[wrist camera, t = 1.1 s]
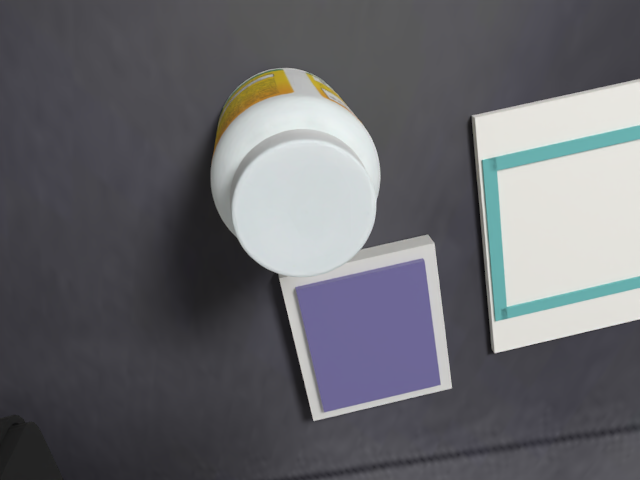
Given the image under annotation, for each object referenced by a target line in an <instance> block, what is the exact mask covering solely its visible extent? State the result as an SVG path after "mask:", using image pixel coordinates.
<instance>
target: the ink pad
mask: <svg viewBox="0 0 640 480" xmlns="http://www.w3.org/2000/svg"><path fill="white" fill-rule="evenodd" d="M279 280H280V284H281V288H282V292H283V297H284V301H285V305H286V309H287V313H288V317H289V321H290V325H291V330H292V334H293V338H294V342H295V346H296V350H297V354H298V359H299V363H300V367H301V371H302V375H303V379H304V383H305V388H306V392H307V396H308V400H309V404H310V408H311V412H312V417H313V421H316V420H320V419H324V418H328V417H333V416H337V415H341V414H345V413H349V412H354V411H358V410H362V409H366V408H371V407H375V406H379V405H383V404H387V403H392V402H396V401H400V400H404V399H408V398H413V397H417V396H421V395H425V394H430V393H434V392H438V391H442V390H446V389H451V388H452V384H451V376H450V368H449V360H448V351H447V343H446V335H445V327H444V318H443V310H442V302H441V294H440V286H439V277H438V269H437V261H436V253H435V244H434V242H433V241H432V239H431V238H430V237H429V235H424V236H419V237H415V238H410V239H406V240H402V241H397V242H393V243H388V244H384V245H379V246H375V247H371V248H366V249H362V250H359V252H358V253H357V254H356V255H355V256H354V257H353V258H352V259H350V260H349V261H348V262H347V263H345V264H344V265H342V266H340V267H338V268H336V269H334V270H332V271H330V272H328V273H325V274H322V275H318V276H312V277H291V276H285V275H281V274H279Z"/></svg>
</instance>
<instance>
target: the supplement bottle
mask: <svg viewBox="0 0 640 480" xmlns="http://www.w3.org/2000/svg"><path fill="white" fill-rule="evenodd" d="M379 187H380V164H379V159H378V154H377V151H376V148H375V145H374V143H373V141H372V139H371V137H370V135H369V133H368V131H367V130H366V129H365V127H364V126H363V124H362V123H361V122H360V121H359V119H358V118H357V117H356V116H355V115H354V113H353V112H352V111H351V110H350V109H349V108H348V106H347V105H346V104H345V103H344V101H343V100H342V99H341V98H340V96H339V95H338V94H337V93H336V92H335V91H334V90H333V89H332V88H331V87H330V86H329V85H328V84H327V83H325V82H324V81H323V80H321V79H320V78H318V77H317V76H315V75H313V74H311V73H308V72H306V71H303V70H298V69H293V68H277V69H270V70H266V71H263V72H261V73H258V74H256V75H254V76H252V77H251V78H249V79H248V80H246V81H245V82H243V83H242V84H241V85H240V86H238V87H237V88H236V90H235V91H234V92H233V93H232V94H231V95H230V97H229V98H228V100H227V101H226V103H225V105H224V107H223V109H222V112H221V115H220V118H219V122H218V127H217V134H216V140H215V146H214V152H213V157H212V163H211V190H212V195H213V199H214V203H215V206H216V208H217V210H218V213H219V215H220V217H221V218H222V220H223V222H224V223H225V225H226V226H227V227H228V229H229V230H230V231H231V232H232V233H233V234H234V235H235V236H236V237H237V238H238V240H239V242H240V244H241V246H242V247H243V249H244V250H245V251H246V252H247V254H248V255H249V256H250V257H251V258H252V259H254V260H255V261H256V262H257V263H258V264H260V265H261V266H263V267H265V268H266V269H268V270H270V271H273V272H275V273H278V274H281V275H285V276H291V277H312V276H318V275H322V274H325V273H328V272H330V271H332V270H334V269H336V268H338V267H340V266H342V265H344V264H345V263H347V262H348V261H349V260H350V259H352V258H353V257H354V256H355V255H356V254H357V253H358V252H359V250H360V249H361V248H362V247H363V245H364V244H365V242H366V240H367V239H368V237H369V235H370V233H371V230H372V228H373V225H374V221H375V215H376V200H377V197H378V193H379Z"/></svg>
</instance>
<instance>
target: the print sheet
mask: <svg viewBox="0 0 640 480" xmlns="http://www.w3.org/2000/svg"><path fill="white" fill-rule="evenodd" d="M472 128H473V139H474V151H475V162H476V174H477V185H478V197H479V209H480V220H481V232H482V243H483V255H484V267H485V278H486V290H487V301H488V313H489V324H490V336H491V348H492V350H493V352H494V353H498V352H502V351H507V350H511V349H515V348H519V347H524V346H528V345H532V344H536V343H541V342H545V341H549V340H553V339H558V338H562V337H566V336H570V335H575V334H579V333H583V332H587V331H592V330H596V329H600V328H604V327H609V326H613V325H617V324H621V323H626V322H630V321H634V320H638V319H640V79H638V80H633V81H628V82H624V83H619V84H615V85H610V86H605V87H601V88H596V89H592V90H587V91H583V92H578V93H573V94H569V95H564V96H560V97H555V98H550V99H546V100H541V101H537V102H532V103H527V104H523V105H518V106H514V107H509V108H505V109H500V110H495V111H491V112H486V113H482V114H477V115H472Z"/></svg>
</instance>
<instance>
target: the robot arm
mask: <svg viewBox="0 0 640 480" xmlns="http://www.w3.org/2000/svg"><path fill="white" fill-rule="evenodd" d="M0 480H63V478H62V476H61V473H60V471H59V469H58V467H57V465H56V463H55V461H54V459H53V456H52V454H51V452H50V450H49V448H48V446H47V444H46V442H45V440H44V437H43V435H42V433H41V431H40V429H39V428H38V426H37V425H36V424H35V423H34V422H28V423H25V421H24V420H23V419H22V418H21V417H20V416H17V415H12V416H8V417H4V418H0Z"/></svg>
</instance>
